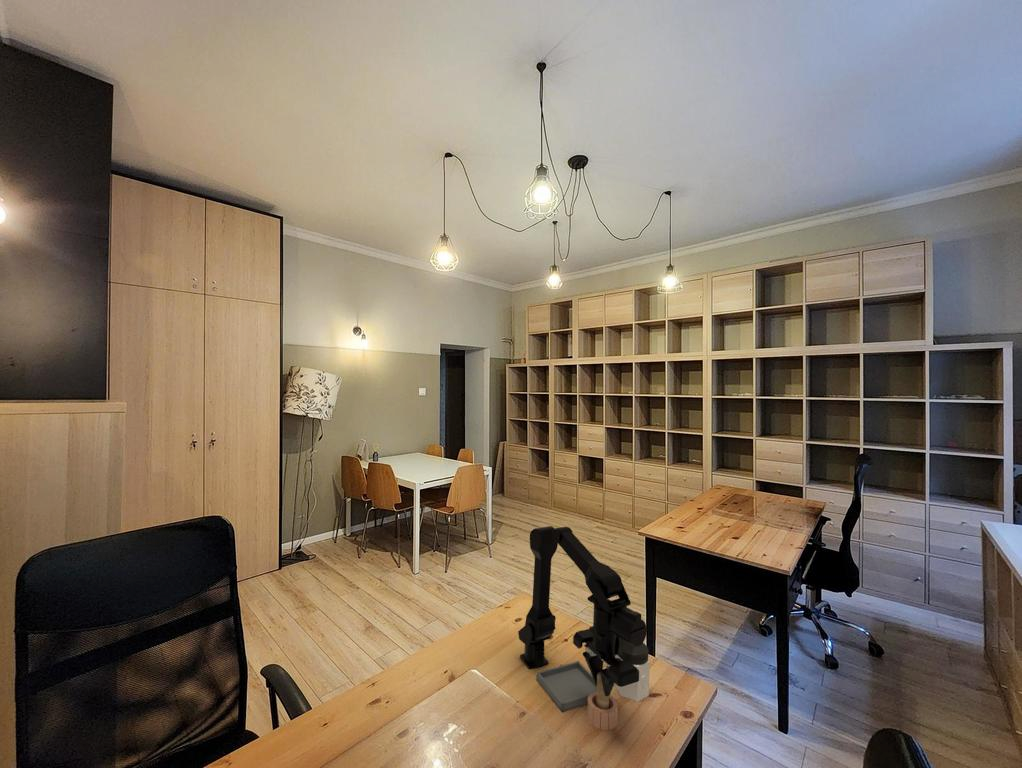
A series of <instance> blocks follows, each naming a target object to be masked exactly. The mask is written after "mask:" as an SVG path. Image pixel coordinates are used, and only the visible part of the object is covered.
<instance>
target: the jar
mask: <svg viewBox="0 0 1022 768" xmlns="http://www.w3.org/2000/svg"><path fill="white" fill-rule="evenodd" d="M615 657H616V658H619V659H621V660H622V661H623V660H626V659H627V660H628V661H629V662H630V663H631V664H632V665H634V666H635V667H636V668H637V669H638V670H639V681H638V682H635V683H632V684H629V685H626V686H623V687H620V686H617V685H616V684H615V683H614V686H615V688H616V690H617V692H618V694H619V696H621V697H623V698H626V699H629V700H632V701H634V702H638V703H639V702H640V701H641V700H643V699H645V698H647V697H649V695H650V663H651V661H650V660H649V648H648V645H646V644H645V642H643V643H642V644H641V645H640V646H638V647H634V651H633V654H630V653H627V652H622V655H620V656H618V655H616V656H615Z"/></svg>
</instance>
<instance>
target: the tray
mask: <svg viewBox="0 0 1022 768" xmlns="http://www.w3.org/2000/svg"><path fill="white" fill-rule="evenodd" d="M535 673H536V677H535V680H536V681H537V683H538V684H539V685H540V687H541V688H542V689H543V690H544V692H545V693H546V694H547V696H549V698H550V699H551V700H552V702H553V704H555V706H556V707H557V708H558V709H559V711H560V712H561V713H564V712H567V711H570V710H571V711H572V710H573V709H577V708H579V707H583V706H585V705H588V697H589V695H590V694H591V693H594V692H597V687H596V684H595V682H594V679H593V676H592V674H591V671H590V670H589V669H587V668H586V666H584V665H583V664H582V663H581V662H580V661H579V660H576V661H573V662H569V663H566V664H562V665H558V666H554V667H552V668H548V669H544V670H541V671H537V672H535Z"/></svg>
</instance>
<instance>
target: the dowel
mask: <svg viewBox="0 0 1022 768" xmlns="http://www.w3.org/2000/svg"><path fill="white" fill-rule="evenodd" d="M596 707H598V708H600V709H604V710H608V709H609V696H607V697H606V696H605V693H604V689H603V684H602V679H601V675H600V672H599V673H598V674H597V695H596Z"/></svg>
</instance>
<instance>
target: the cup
mask: <svg viewBox="0 0 1022 768" xmlns="http://www.w3.org/2000/svg"><path fill="white" fill-rule="evenodd" d="M596 695H597V692H594V693H591V694H590V695H589V697H588V704H586V705H587V707H586V708H587V709H586V716H587V721H588V722H589V723H590V725H592V726H593V727H594V728H596V729H599V730H602V731H611V730H614V729H615V728H616V727H617V724H618V716H619V715H618V713H619V712H618V711H619V706H618V701H617V700H616V698H614V697H613V696H612V695H611V694H610V695H609V709H608V710H604V709H600V708H598V707H596Z"/></svg>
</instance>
